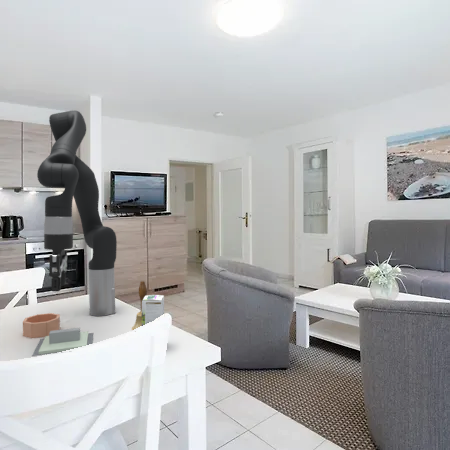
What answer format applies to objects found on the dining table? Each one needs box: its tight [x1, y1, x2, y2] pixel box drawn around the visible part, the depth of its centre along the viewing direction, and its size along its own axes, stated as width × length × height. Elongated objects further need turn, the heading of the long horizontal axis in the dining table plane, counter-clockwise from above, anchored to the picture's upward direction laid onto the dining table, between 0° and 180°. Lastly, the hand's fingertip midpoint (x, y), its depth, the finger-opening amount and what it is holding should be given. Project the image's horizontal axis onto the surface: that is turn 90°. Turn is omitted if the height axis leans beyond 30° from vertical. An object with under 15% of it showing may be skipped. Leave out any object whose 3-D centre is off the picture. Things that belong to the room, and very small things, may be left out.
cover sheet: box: [38, 327, 89, 355], centre depth 99 cm, size 12×12×4 cm
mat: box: [31, 332, 95, 357], centre depth 100 cm, size 15×13×1 cm
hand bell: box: [131, 280, 148, 331], centre depth 112 cm, size 8×8×16 cm
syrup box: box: [142, 294, 165, 326], centre depth 98 cm, size 6×6×14 cm
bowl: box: [22, 312, 61, 339], centre depth 109 cm, size 10×10×5 cm
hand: (58, 288), depth 99 cm, fingers open, 8 cm apart
